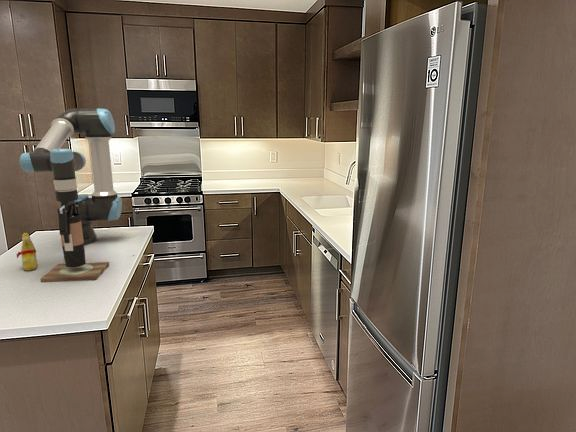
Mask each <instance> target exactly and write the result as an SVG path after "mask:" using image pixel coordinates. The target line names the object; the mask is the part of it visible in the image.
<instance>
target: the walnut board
mask: <svg viewBox="0 0 576 432" xmlns="http://www.w3.org/2000/svg"><path fill="white" fill-rule="evenodd" d="M109 266H110V262H109V261H104V262H103V261H100V262H99V261H98V262H86V263H85V264H84V265H82V266H79V267H73V268H69V267H66V265H65V263H58V264H57V265H55V266H54V267H53V268H52V269H51V270H49V271H47V273H45V274H44V275H43V276H42V277H40V283H53V282H54V283H55V282H56V283H57V282H58V283H59V282H76V281H80V282H82V281H96V280H98V279H99V277H101V275H102V274H103V273H104V272H105V271H106V270H107V268H108V267H109Z"/></svg>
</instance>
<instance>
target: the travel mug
mask: <svg viewBox="0 0 576 432" xmlns="http://www.w3.org/2000/svg"><path fill="white" fill-rule="evenodd" d="M67 219H69V221H70V234H71V236H72V244H73V251H65V246H64V239H63V235H60V240H61V248H62V252H63V258H64V264H65V265H66V267H69V268H73V267H79V266H82V265H84V264H85V263H87V262H86V250H85V245H84V239H83V232H82V224H81V217H80V214H76V216H72V217H69V218H67Z"/></svg>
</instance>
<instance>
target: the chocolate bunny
mask: <svg viewBox="0 0 576 432" xmlns="http://www.w3.org/2000/svg"><path fill="white" fill-rule="evenodd" d="M21 236H22V237H21V241H22V245H21V251H17V253H16V258H19V257H20V256H21V261H22V266H23V267H22V268H23V270H24V271H26V272H27V271H28V272H31V271H34V270H36V267H37V264H38V261H37V260H38V259H37V249H36V248H35V247H36V246H35V245H34V242H33V241H32V240H31V236H30V235H29V233H28V232H24V233H22V235H21Z"/></svg>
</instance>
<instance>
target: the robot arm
mask: <svg viewBox="0 0 576 432" xmlns="http://www.w3.org/2000/svg"><path fill="white" fill-rule="evenodd" d="M115 133H116V125H115V121H114V118H113V115H112V113H111V111H110V110H108V109H107V108H70V109H67V110H65V111H63V112H62V113H59V115H57V116H55V118H53V120H52V122H51V123H50V128H49V129H48V131H47V132H46V133H45V135H44V136H43V138H42V139H40V141H39V143H37V145H36V146H35V148H34V149H33V151H31V152H24V153H21V155H20V157H19V165H20V169H22V170H23V172H26V173H50V172H51V173H52V177H53V181H52V184H53V186H54V190H55V191H54V193H55V199H56V201H57V202H60V208H59V207H58V208H57V215H58V227H59V229H58V230H59V235H60V236H61V235H63V239H64V246H65V251H73V244H72V236H71V234H70V221H69V219H67V218H69V217H72V216H76V214H80V217H81V224H82V232H83V239H84V246H85V245H90V244H93V243H95V242H96V241H98V237H97V236H98V235H97V234H96V232H95V230H94V228H93V225H92V222H96V221H97V222H102V221H107V222H109V221H110V222H111V221H118V219H119V218H120V217H121V214H122V212H123V211H122V208H123V201H122V197H120V196H118V193H117V191H116V190H114V181H113V172H112V162H111V161H112V159H111V152H110V150H111V149H110V140H111V139H112V135H114V134H115ZM80 134H81V135H82V134H83V135H84V139H86V140H87V141H88V142H89V151H90V152H89V153H90V162H91V169H92V171H91V172H92V180H93V188H94V191H93V192H92V193H91V197H89V195H88V194H79V193H78V190H77V189H78V182H77V176H76V175H77V174H76V172H78V171H80V170H82V169H83V168H84V167H85V166H86V162H87V160H86V157H85V156H84V154H82V153H81V152H79V151H73V150H72V149H70V148H62V147H63V145H64V144H65V142H66V141H67V140H68V138H71V137H72V136H73V135H80Z"/></svg>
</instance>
